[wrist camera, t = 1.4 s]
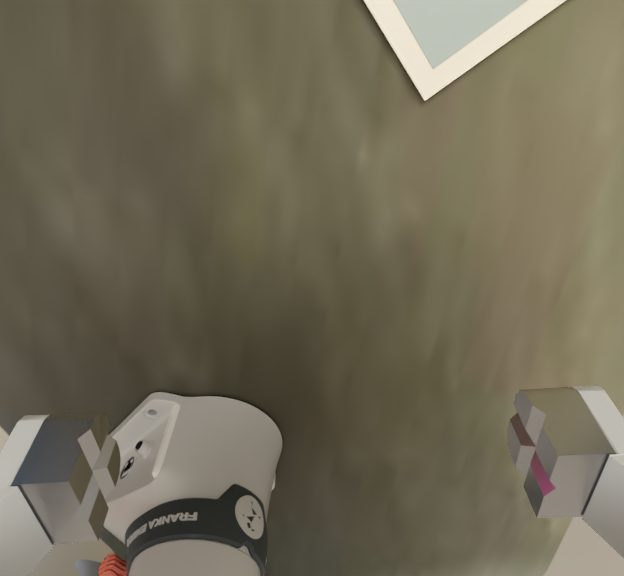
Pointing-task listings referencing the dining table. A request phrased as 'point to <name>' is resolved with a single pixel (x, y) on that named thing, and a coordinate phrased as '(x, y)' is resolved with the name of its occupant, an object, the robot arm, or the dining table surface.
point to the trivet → (451, 33)
